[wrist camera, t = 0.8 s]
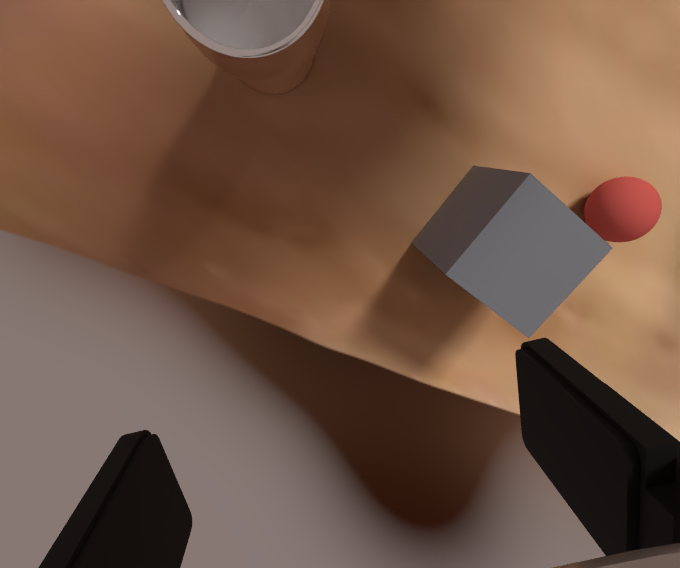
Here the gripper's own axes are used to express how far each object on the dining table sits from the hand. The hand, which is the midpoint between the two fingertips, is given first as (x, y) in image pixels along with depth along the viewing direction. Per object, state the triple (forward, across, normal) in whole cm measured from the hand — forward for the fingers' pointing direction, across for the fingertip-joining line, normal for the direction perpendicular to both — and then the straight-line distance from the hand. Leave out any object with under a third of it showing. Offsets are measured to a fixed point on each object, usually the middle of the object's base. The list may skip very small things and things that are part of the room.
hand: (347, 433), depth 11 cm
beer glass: (+25, 0, -14) cm, 28 cm away
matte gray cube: (+24, -13, +3) cm, 28 cm away
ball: (+22, -24, +3) cm, 32 cm away
